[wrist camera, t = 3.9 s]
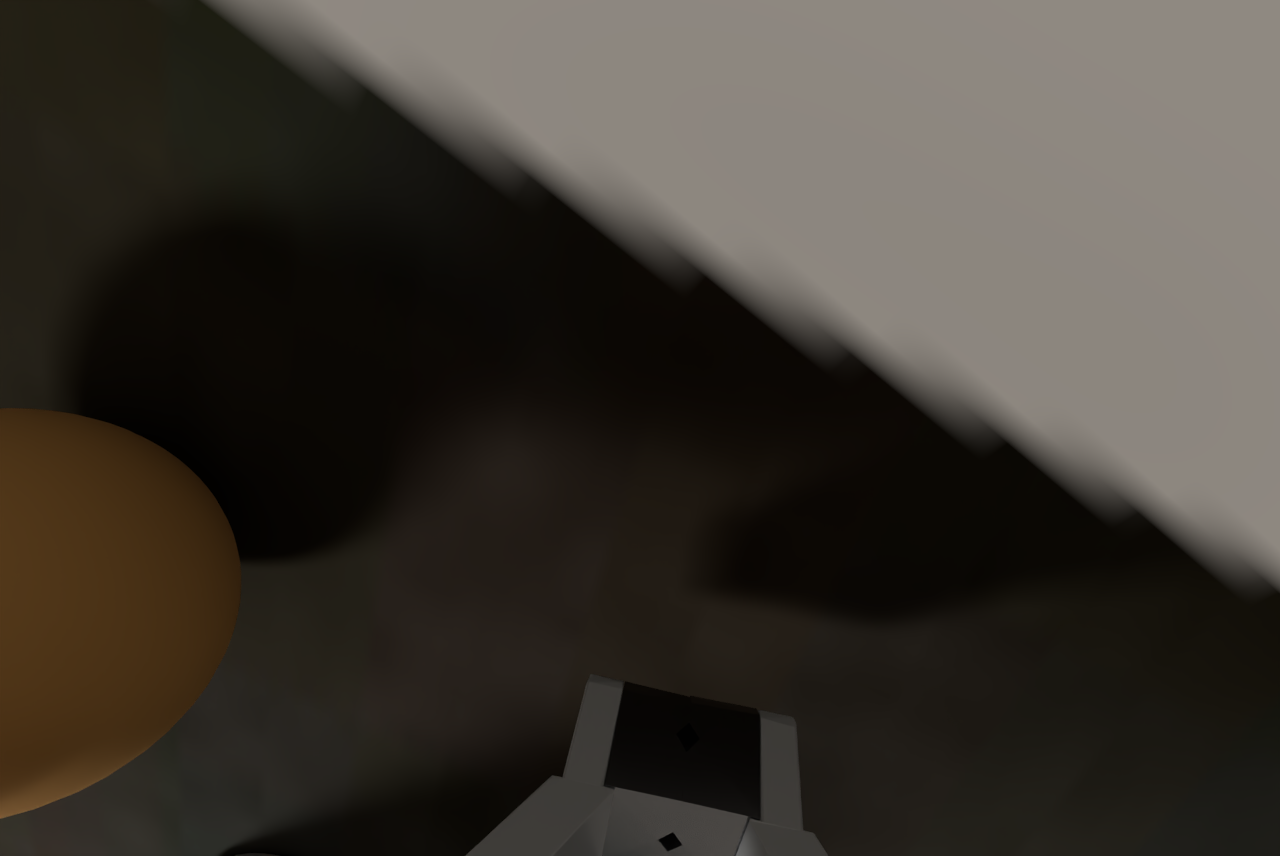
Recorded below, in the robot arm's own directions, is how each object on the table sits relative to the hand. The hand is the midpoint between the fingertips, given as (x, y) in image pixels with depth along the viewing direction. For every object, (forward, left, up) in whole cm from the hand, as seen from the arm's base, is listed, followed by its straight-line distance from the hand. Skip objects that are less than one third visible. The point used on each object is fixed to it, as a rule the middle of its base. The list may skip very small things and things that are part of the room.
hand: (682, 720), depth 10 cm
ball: (+10, 0, +1) cm, 10 cm away
